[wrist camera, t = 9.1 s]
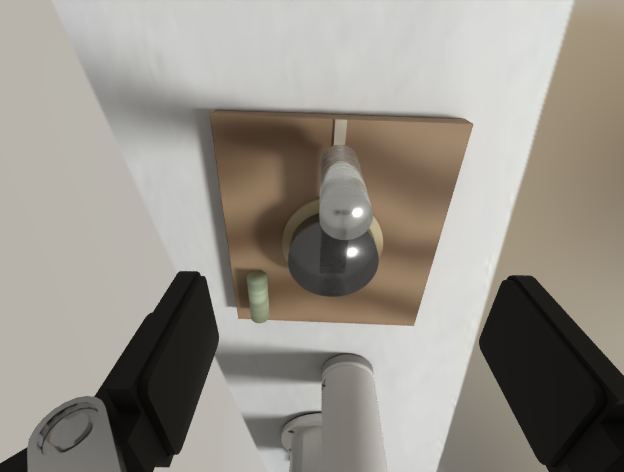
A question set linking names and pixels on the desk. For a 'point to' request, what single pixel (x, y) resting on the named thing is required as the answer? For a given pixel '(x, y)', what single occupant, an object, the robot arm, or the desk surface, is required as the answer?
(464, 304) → the desk surface
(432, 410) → the desk surface
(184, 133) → the desk surface
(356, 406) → the travel mug
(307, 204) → the base
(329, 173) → the grey rounded piece
